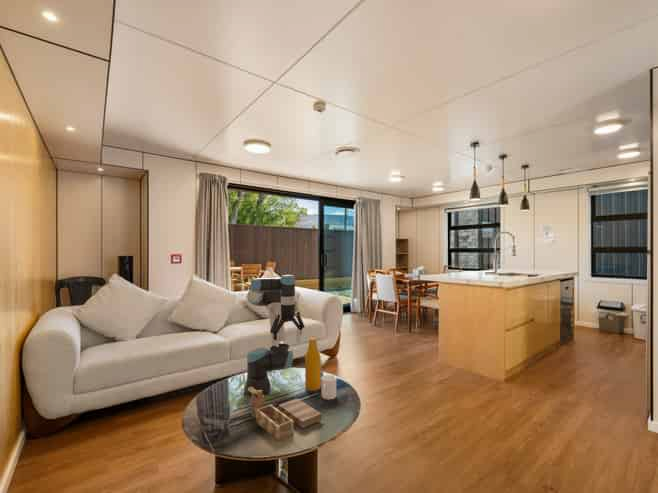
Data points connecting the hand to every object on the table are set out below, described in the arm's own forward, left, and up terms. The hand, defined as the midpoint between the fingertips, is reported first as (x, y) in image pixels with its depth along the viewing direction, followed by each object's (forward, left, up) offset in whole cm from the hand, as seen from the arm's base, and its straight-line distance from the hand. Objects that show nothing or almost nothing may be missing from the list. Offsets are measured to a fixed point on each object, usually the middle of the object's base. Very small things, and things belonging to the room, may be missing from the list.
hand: (287, 343), depth 170 cm
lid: (+17, -4, -30) cm, 35 cm away
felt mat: (+17, -4, -31) cm, 36 cm away
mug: (+9, +20, -32) cm, 38 cm away
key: (-2, -18, -22) cm, 28 cm away
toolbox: (+13, -18, -31) cm, 38 cm away
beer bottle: (-7, +22, -32) cm, 39 cm away
